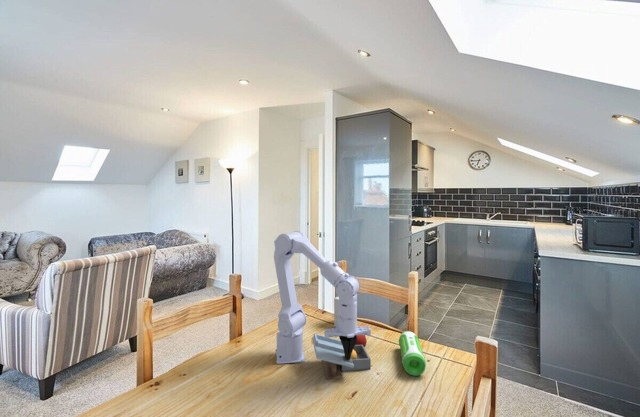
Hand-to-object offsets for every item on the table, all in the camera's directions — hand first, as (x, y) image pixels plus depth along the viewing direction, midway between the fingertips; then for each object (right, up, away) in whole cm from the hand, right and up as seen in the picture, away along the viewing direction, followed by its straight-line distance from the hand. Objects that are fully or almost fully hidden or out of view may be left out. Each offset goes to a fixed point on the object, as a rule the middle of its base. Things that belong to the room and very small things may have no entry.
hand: (347, 358), depth 95 cm
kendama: (+5, -5, +22) cm, 23 cm away
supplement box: (+2, -4, +35) cm, 36 cm away
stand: (-5, -5, +3) cm, 8 cm away
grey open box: (+3, -5, +7) cm, 9 cm away
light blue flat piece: (-5, +1, +3) cm, 6 cm away
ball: (+2, -3, +7) cm, 8 cm away
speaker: (+23, -6, +8) cm, 24 cm away
